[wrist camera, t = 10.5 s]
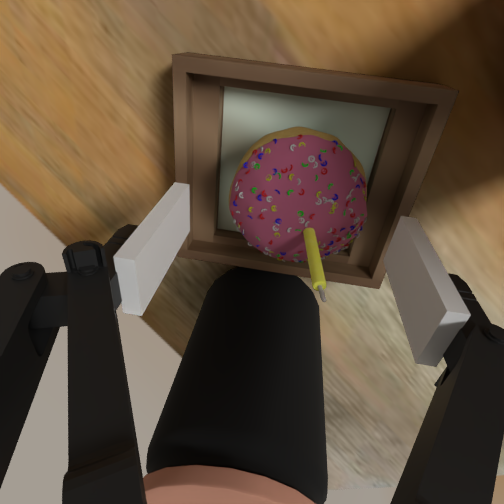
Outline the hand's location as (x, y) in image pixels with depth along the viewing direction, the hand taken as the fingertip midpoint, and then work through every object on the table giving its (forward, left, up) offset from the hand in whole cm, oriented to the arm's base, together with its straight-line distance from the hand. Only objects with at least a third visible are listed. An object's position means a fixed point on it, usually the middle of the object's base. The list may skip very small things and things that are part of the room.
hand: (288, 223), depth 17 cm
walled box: (+1, 0, -9) cm, 9 cm away
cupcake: (+1, 0, -9) cm, 9 cm away
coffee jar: (+14, -1, -9) cm, 17 cm away
